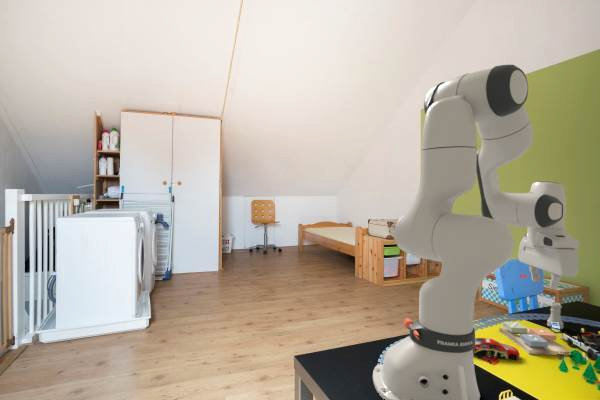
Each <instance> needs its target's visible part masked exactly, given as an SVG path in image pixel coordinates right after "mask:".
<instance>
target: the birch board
mask: <svg viewBox="0 0 600 400" xmlns="http://www.w3.org/2000/svg"><path fill="white" fill-rule="evenodd" d="M529 329H530V328H527V333H515V332H510V331H509V330H507V329H506V328H505V327H499V329H498V331H499V332H500V333H501V334H503V335H504V336H505V337H506V338H508V339H509V340H510V341H511V342H513V343H515V344H516V345H517V346H518V347H520V348H521V349H522V350H523V351H524V352H527V354H529V355H549V356H550V355H551V356H558V355H557V354H558V352H560V351H562V352H563V353H564V355H563V356H568V355H569V353H570V352H572V351H571V350H569V349H568V348H567V347H564V346H563V345H561V344H560V343H558V342H556V340H546V341H547V342H548V347H536V346H529V345H528V344H527V343H525V342H524V341H523V340H521V339H520V337H518V336H517V334H530V333H529Z"/></svg>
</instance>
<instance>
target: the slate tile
mask: <svg viewBox="0 0 600 400" xmlns="http://www.w3.org/2000/svg"><path fill="white" fill-rule="evenodd" d="M520 339H521V340H523V341H524V342H525V343H527V344H528V345H529V346H536V347H548V342H547V341H546V340H544V339H543V338H541V337H540V336H538V335H533V334H520Z"/></svg>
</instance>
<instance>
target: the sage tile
mask: <svg viewBox="0 0 600 400" xmlns="http://www.w3.org/2000/svg"><path fill="white" fill-rule="evenodd" d="M502 328H506V329H507V330H509V331H510V332H515V333H527V329H528V327H526V326H524V325H523V324H521V323H520V322H519V321H518V322H517V321H502Z"/></svg>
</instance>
